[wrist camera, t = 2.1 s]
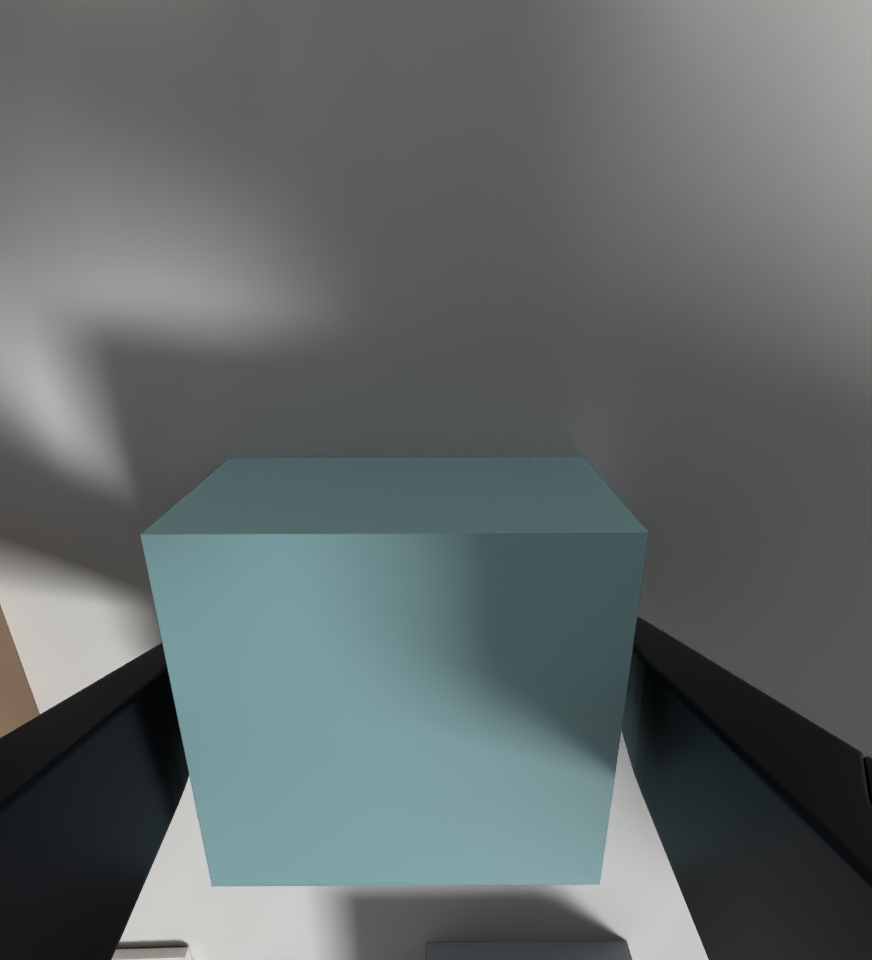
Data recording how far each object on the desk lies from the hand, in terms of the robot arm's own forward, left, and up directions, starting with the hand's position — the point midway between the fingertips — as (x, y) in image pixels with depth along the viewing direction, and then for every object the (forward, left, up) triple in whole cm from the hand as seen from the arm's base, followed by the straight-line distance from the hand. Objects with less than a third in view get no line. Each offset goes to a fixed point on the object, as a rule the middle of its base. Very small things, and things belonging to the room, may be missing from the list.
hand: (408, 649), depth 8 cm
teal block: (0, 0, -1) cm, 1 cm away
